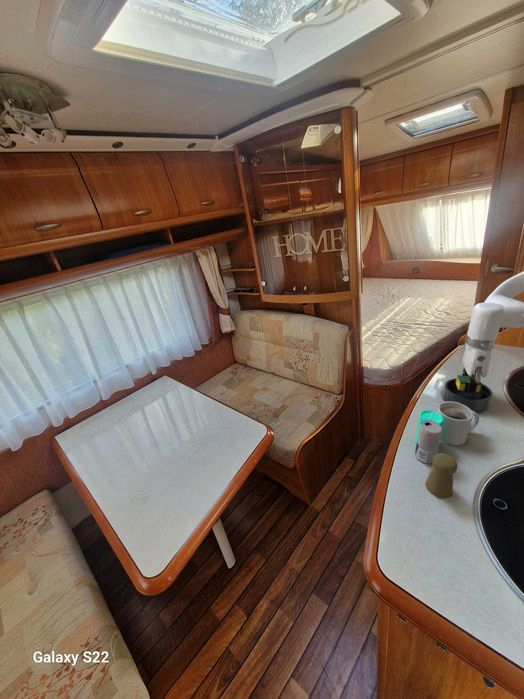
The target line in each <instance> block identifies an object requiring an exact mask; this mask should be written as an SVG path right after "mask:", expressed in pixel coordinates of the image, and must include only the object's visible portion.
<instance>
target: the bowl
mask: <svg viewBox="0 0 524 699" xmlns="http://www.w3.org/2000/svg"><path fill="white" fill-rule="evenodd" d="M456 380H457V377H455V378H450V379H448V380H446V381H445V383H444V388H443V392H442V401H443V402H446V401H451V402H457V403H460V404H463V405H465V406H467V407H468V408H469V409H470V410H471V411H474V412H475V413H476V414H482V413H484V412H487V411H488V410H489V407H490V405H491V401H492V398H493V390H492V389H491V388H490V387H489V386H487V385H486V384H485V383H482V384H481V388H480V391H479V392H475V393H473V392H465V391H462V390H458V388H457V385H456Z"/></svg>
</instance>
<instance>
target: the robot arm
mask: <svg viewBox="0 0 524 699" xmlns="http://www.w3.org/2000/svg"><path fill="white" fill-rule="evenodd" d="M523 292H524V271H521V272H519V273H518V274H516V275H513V276H511V277H510V278H508V279H506V280H504V281H503V282H501V283H500V285H498V286H497V287H496V288H495V289H494V290H493V291H492V292H491V293H490V294H489V295H488V296H487V297H486V298H485V300H484V302H479V303H476V304H475V305H474V306H473V310H472V313H471V316H470V321H469V325H468V329H467V332H466V333H467V334H466V337H465V341H464V345H465V349H464V352H463V357H462V366H463V370H462V373H461V375H463V376H468V381H466V384H465V388H464V391H465V392H473V393H475V392H476V388H477V385H478V383H479V382H481V380H482V379H481V378H486V377H487V376H488V372H489V368H490V363H491V360H492V359H491V358H492V350H493V349H495V348H494V347H495V345H496V343H497V342H496V341H497V338H498V334H499V332H500V329H501V328H510V329H520V328H524V302H523V301H520V300H518V299H514V298H515V297H516V296H518V295H520V294H521V293H523ZM471 376H472V377H475V378H474V379H473V378H472V379H471ZM481 383H482V382H481Z"/></svg>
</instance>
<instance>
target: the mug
mask: <svg viewBox="0 0 524 699" xmlns="http://www.w3.org/2000/svg"><path fill="white" fill-rule="evenodd" d="M436 413H438V414H439V415H441V416H442V418H443V422H442V427H441V428H442V434H441V438H440V442H441V443H445V444H447V445H451V446H460V445H463V444H465V443H466V442H467V438H468V435H469V432H471V431H473V430H474V429H475V428H476V427H477V426H478V425H479V422H480V416H479V414H478V413H475V412H474V411H471V410H470V409H469V408H468V407H467V406H465V405H463V404H460V403H457V402H451V401H446V402H444V401H443V402H440V403H439V404H438V405H437V410H436ZM473 418H474V419H473Z"/></svg>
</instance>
